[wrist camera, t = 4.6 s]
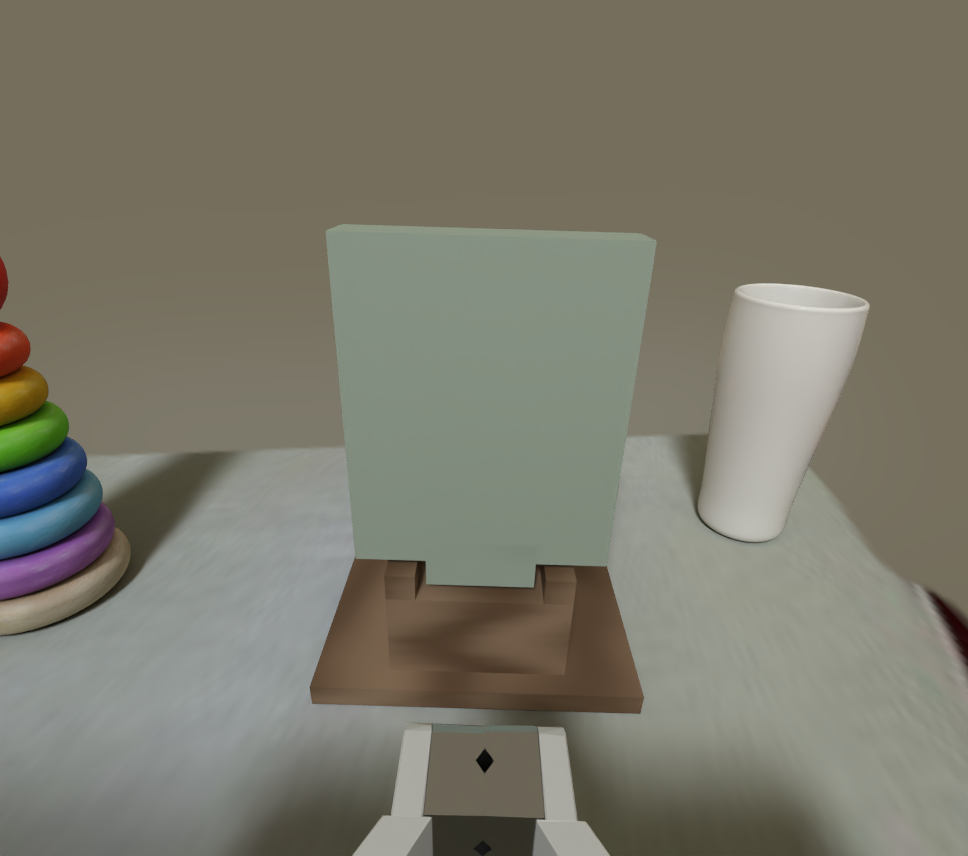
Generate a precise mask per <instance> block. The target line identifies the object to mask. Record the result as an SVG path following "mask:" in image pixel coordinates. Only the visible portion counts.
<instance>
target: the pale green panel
mask: <svg viewBox="0 0 968 856" xmlns="http://www.w3.org/2000/svg"><path fill="white" fill-rule="evenodd" d="M326 240H327V251H328V262H329V273H330V284H331V295H332V306H333V317H334V327H335V338H336V349H337V360H338V371H339V381H340V392H341V404H342V414H343V425H344V436H345V447H346V458H347V469H348V480H349V491H350V502H351V513H352V524H353V535H354V546H355V557H356V559H381V560H414V561H426V584H434V585H467V586H499V587H532V588H534V580H535V569H536V564H544V565H576V566H606V563H607V557H608V550H609V544H610V537H611V531H612V524H613V518H614V512H615V505H616V499H617V492H618V486H619V480H620V473H621V467H622V460H623V454H624V448H625V441H626V435H627V428H628V421H629V415H630V409H631V403H632V396H633V390H634V382H635V377H636V371H637V364H638V358H639V351H640V345H641V338H642V332H643V326H644V318H645V313H646V307H647V300H648V293H649V287H650V281H651V274H652V268H653V262H654V254H655V249H656V242H657V241H656V240H654V239H651V238H649V237H647V236H645V235H643V234H640V233H609V232H576V231H575V232H574V231H544V230H511V229H479V228H446V227H413V226H382V225H349V224H348V225H347V224H341V225H339V226H336V227H334V228H331V229H329V230H326Z"/></svg>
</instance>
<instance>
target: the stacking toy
mask: <svg viewBox="0 0 968 856" xmlns="http://www.w3.org/2000/svg"><path fill="white" fill-rule="evenodd" d="M7 291H8V278H7V272H6V268H5V266H4V263H3V261H2V259H1V258H0V309H1V308H2V306H3V303H4V302H5V300H6V296H7ZM29 354H30V342H29V340H28V338H27V337H26V335H25V334H24V333H23V332H22V331H21V330H20V329H18V328H16V327H15V326H12V325H10V324H7V323H3V322H0V635H9V634H16V633H21V632H25V631H30V630H34V629H37V628H40V627H43V626H46V625H49V624H52V623H55V622H57V621H60V620H62V619H64V618H67V617H69V616H71V615H73V614H75V613H77V612H79V611H80V610H82V609H84V608H86V607H87V606H89V605H91V604H92V603H94V602H95V601H97V600H98V599H99V598H101V597H102V596H103V595H105V594H106V593H107V592H108V591H109V590H110V589H112V588H113V586H114V585H115V584H116V583H117V582H118V581H119V580H120V579H121V577H122V576H123V574H124V573H125V571H126V569H127V567H128V564H129V561H130V557H131V548H130V543H129V541H128V539H127V537H126V536H125V534H124V533H123V532H122V531H121V530H119V529H118V528H116V527H115V521H114V518H113V515H112V513H111V511H110V509H109V508H108V507H107V506H106V505H105V504H104V503H102V502H101V501H102V496H103V491H102V486H101V483H100V481H99V480H98V478H97V477H96V476H95V475H94V474H93V473H92V472H91V471H89V470H87V469H86V466H87V458H86V454H85V452H84V450H83V448H82V447H81V446H80V445H79V444H78V443H77V442H76V441H75V440H73V439H71V438H69V437H67V434H68V430H69V423H68V419H67V417H66V415H65V413H64V412H63V411H62V409H60V408H59V407H58V406H56V405H55V404H53V403H51V402H48V401H46V399H47V397H48V385H47V382H46V380H45V379H44V377H43V376H42V375H41V374H40V373H38V372H37V371H35V370H34V369H31V368H29V367H26V366H22V365H23V364H24V363H25V362H26V361H27V359H28V357H29Z"/></svg>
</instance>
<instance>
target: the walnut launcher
mask: <svg viewBox="0 0 968 856" xmlns="http://www.w3.org/2000/svg"><path fill="white" fill-rule="evenodd" d="M310 692H311V698H312V704H345V705H377V706H410V707H442V708H475V709H507V710H540V711H572V712H605V713H637V714H640V712H641V708H642V703H643V699H644V696H643V693H642V689H641V686H640V682H639V679H638V675H637V672H636V668H635V665H634V661H633V658H632V654H631V651H630V647H629V644H628V640H627V637H626V633H625V629H624V626H623V622H622V619H621V615H620V612H619V608H618V605H617V601H616V598H615V594H614V591H613V587H612V584H611V580H610V577H609V573H608V570H607V566H576V565H544V564H536V569H535V580H534V588H532V587H499V586H467V585H434V584H426V561H414V560H381V559H356V557H355V559H354V562H353V565H352V567H351V570H350V573H349V576H348V579H347V582H346V585H345V588H344V590H343V593H342V596H341V599H340V602H339V605H338V608H337V610H336V613H335V616H334V619H333V622H332V625H331V628H330V631H329V633H328V636H327V639H326V642H325V645H324V648H323V651H322V653H321V656H320V659H319V662H318V665H317V668H316V671H315V674H314V676H313V679H312V682H311V685H310Z"/></svg>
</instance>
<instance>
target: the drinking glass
mask: <svg viewBox="0 0 968 856" xmlns="http://www.w3.org/2000/svg"><path fill="white" fill-rule="evenodd" d="M869 308H870V305H869V303H868V302H867V301H866V300H864V299H862V298H860V297H857V296H854V295H851V294H846V293H843V292H839V291H834V290H828V289H823V288H816V287H809V286H800V285H789V284H768V283H763V284H747V285H743V286H739V287H738V288H736V290H735V291H734V295H733V299H732V302H731V306H730V309H729V313H728V317H727V321H726V325H725V329H724V333H723V338H722V342H721V347H720V353H719V358H718V365H717V371H716V379H715V387H714V395H713V403H712V412H711V419H710V427H709V435H708V443H707V450H706V458H705V465H704V472H703V479H702V485H701V490H700V494H699V498H698V504H697V508H698V513H699V515H700V517H701V519H702V520H703V521H704V522H705V523H706V524H707V525H708V526H709V527H710V528H712V529H713V530H715V531H716V532H718V533H720V534H722V535H724V536H727V537H729V538H732V539H736V540H740V541H745V542H765V541H769V540H772V539H774V538H776V537H777V536H779V535H780V534H781V533H782V531H783V529H784V527H785V525H786V522H787V518H788V515H789V512H790V509H791V506H792V504H793V502H794V499H795V497H796V495H797V492H798V490H799V488H800V485H801V483H802V481H803V478H804V476H805V474H806V472H807V469H808V467H809V465H810V462H811V460H812V458H813V456H814V453H815V451H816V449H817V447H818V444H819V442H820V440H821V438H822V436H823V433H824V431H825V429H826V427H827V424H828V422H829V420H830V418H831V415H832V413H833V411H834V409H835V406H836V404H837V402H838V400H839V397H840V395H841V393H842V391H843V388H844V386H845V383H846V381H847V378H848V376H849V373H850V371H851V368H852V365H853V362H854V359H855V356H856V353H857V350H858V347H859V343H860V340H861V337H862V334H863V330H864V326H865V322H866V319H867V315H868V311H869Z"/></svg>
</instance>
